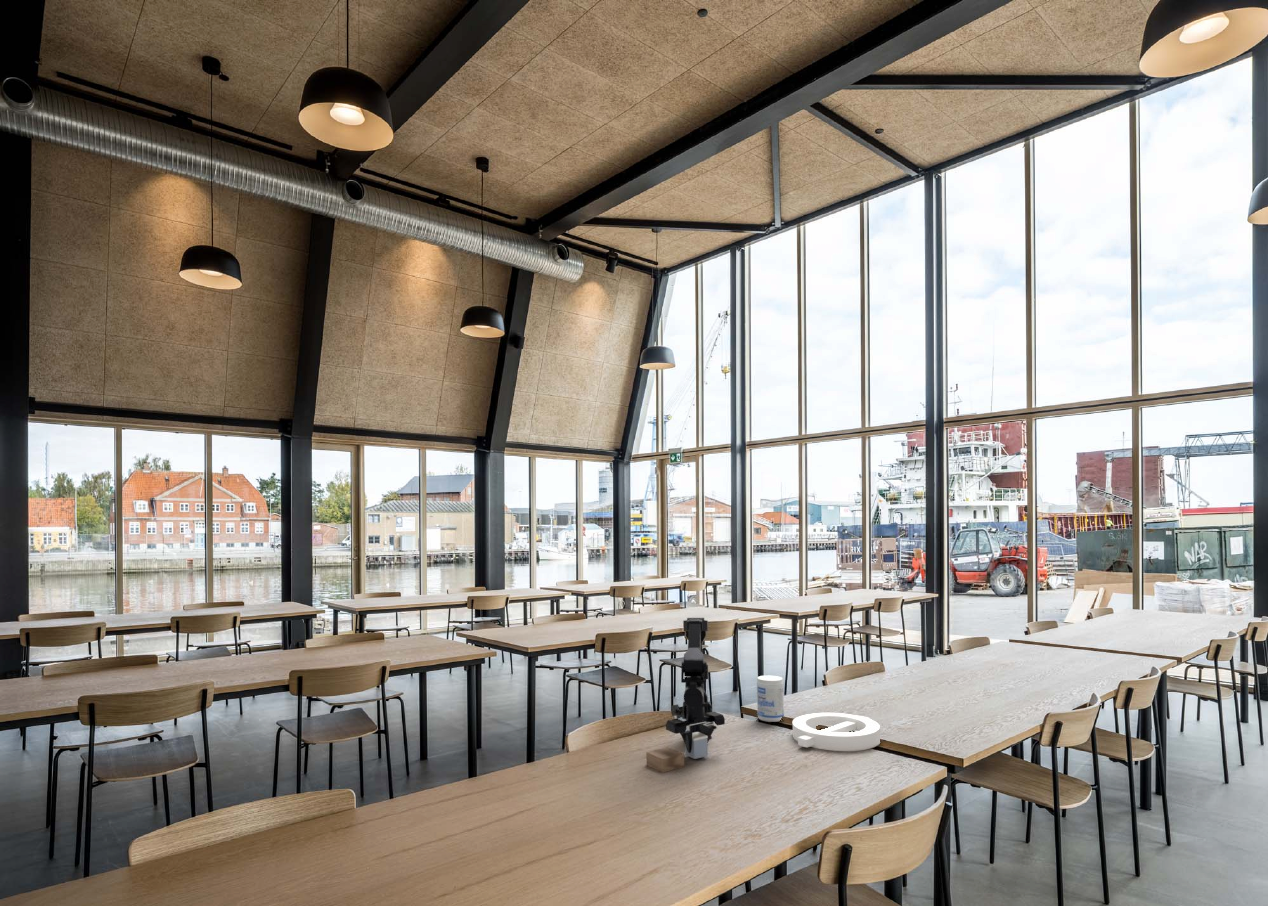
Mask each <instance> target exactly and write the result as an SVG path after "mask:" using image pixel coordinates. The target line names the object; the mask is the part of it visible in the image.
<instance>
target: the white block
mask: <svg viewBox="0 0 1268 906" xmlns="http://www.w3.org/2000/svg"><path fill="white" fill-rule="evenodd" d="M707 738H708V736H707V735H705V734H702V733H700V732H694V733H692V747H691V753H688V751H687V749H686V746H685V745H684V756H687V757H689V758H692V759H694V760H696V759H700V758H701V759H702V758H705V757H706V758H707V757H708V756H709V755H708V754H709V751H708V749H709V747H708V745H709V743H708V744H707Z"/></svg>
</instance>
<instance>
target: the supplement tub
mask: <svg viewBox="0 0 1268 906" xmlns="http://www.w3.org/2000/svg"><path fill="white" fill-rule="evenodd" d="M784 698H785V697H784V681H783V677H782V676H777V675H768V674H767V675H760V676H757V680H756V705H757V712H756V713H757V718H758V719H759V720H760V721H763V722H768V723H771V722H774V723H776V722H777V723H778V722H781V721H782V720H781V718H782V716H784V717H785V707H784V705H785V704H784V702H785V699H784ZM780 720H781V721H780Z"/></svg>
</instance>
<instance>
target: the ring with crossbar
mask: <svg viewBox="0 0 1268 906" xmlns="http://www.w3.org/2000/svg"><path fill="white" fill-rule="evenodd" d="M818 725H834V726H831V727H828V728H825V729H821V730H817V729H816V726H818ZM852 730H860V731H855V732H853V731H852ZM849 731H851V732H849ZM792 737H793V739H794V740H795V741H796V742H797V745H798V746H800V747H803V748H810V747H811V748H814V749H820V750H826V751H836V752H857V751H858V752H859V751H864V750H868V749H873V748H875V747H877V746H879V745H880V743H881V742H880V739H881V726H880V724H879V723H878V722H877V721H875V720H873V719H871V718H870V717H868V716H863V715H857V714H849V713H843V712H817V713H808V714H803V715H799V716H797V717H795V718H793V719H792Z"/></svg>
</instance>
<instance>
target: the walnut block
mask: <svg viewBox="0 0 1268 906" xmlns="http://www.w3.org/2000/svg"><path fill="white" fill-rule="evenodd" d="M645 754H646V766H648V767H650V768H652V769H655V770H657V771H659V772H661V773H665V772H669V771H673V770H676V769H680V768H684V767H685V752H681V751H678V750H676V749H673V748H671V747H669V746H666V747H662V748H658V749H653V750H649V751H646V753H645Z"/></svg>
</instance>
